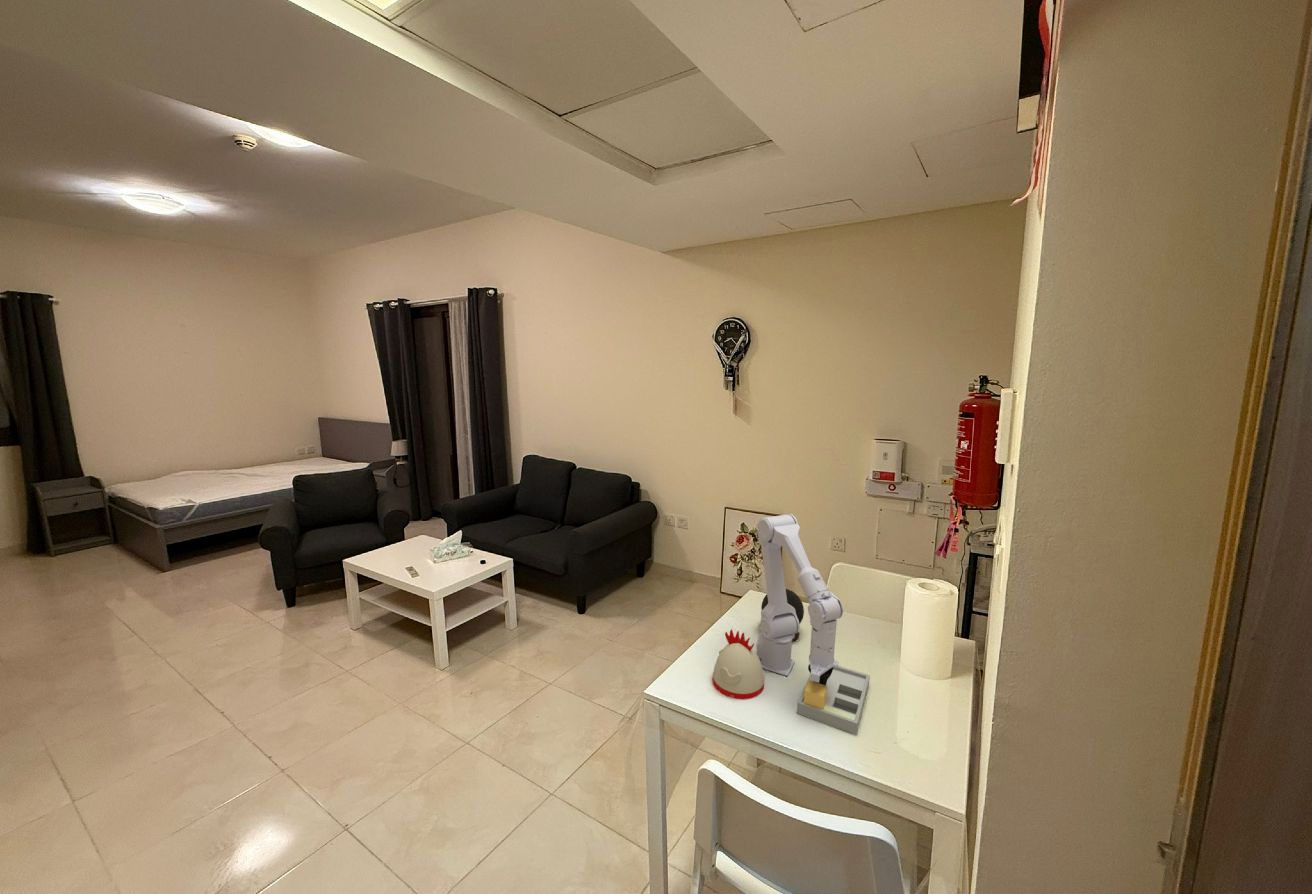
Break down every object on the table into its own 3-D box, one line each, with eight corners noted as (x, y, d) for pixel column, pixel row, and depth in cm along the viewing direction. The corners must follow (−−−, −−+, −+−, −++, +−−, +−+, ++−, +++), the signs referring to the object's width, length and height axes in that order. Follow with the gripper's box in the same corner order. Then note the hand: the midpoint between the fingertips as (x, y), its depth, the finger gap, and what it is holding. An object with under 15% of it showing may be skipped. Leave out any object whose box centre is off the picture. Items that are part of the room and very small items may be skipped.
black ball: (752, 626, 164) (754, 583, 161) (787, 620, 168) (790, 578, 165) (773, 648, 151) (776, 602, 149) (810, 641, 155) (813, 596, 153)
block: (803, 706, 123) (804, 690, 123) (807, 695, 127) (809, 680, 126) (822, 712, 121) (823, 696, 120) (826, 702, 125) (827, 686, 124)
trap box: (796, 713, 124) (797, 702, 123) (816, 668, 141) (816, 659, 141) (856, 735, 117) (857, 723, 116) (868, 685, 135) (869, 675, 134)
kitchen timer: (724, 661, 145) (726, 613, 142) (770, 676, 138) (773, 627, 135) (704, 688, 133) (705, 636, 130) (753, 706, 126) (756, 652, 124)
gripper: (833, 662, 116) (829, 714, 119) (844, 633, 128) (840, 680, 131) (803, 653, 120) (799, 703, 122) (816, 626, 132) (813, 672, 134)
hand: (819, 691), depth 127 cm, fingers closed
